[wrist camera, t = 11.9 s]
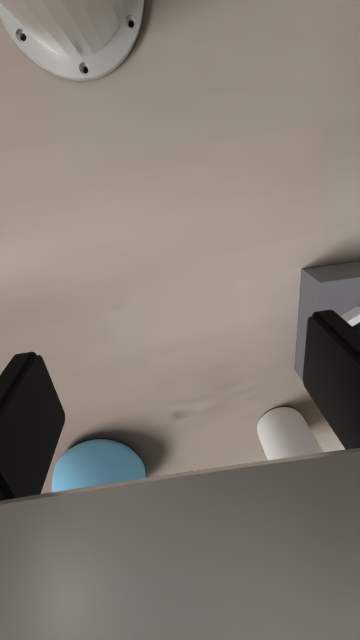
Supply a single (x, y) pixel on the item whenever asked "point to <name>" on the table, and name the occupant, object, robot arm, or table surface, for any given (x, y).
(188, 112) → the table surface
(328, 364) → the robot arm
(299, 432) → the pill bottle
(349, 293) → the camera body
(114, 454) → the sugar bowl
